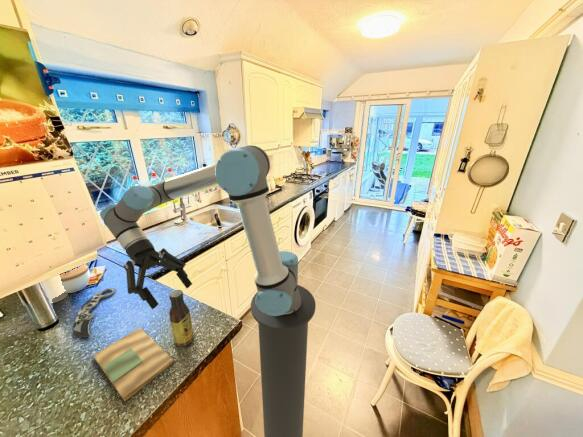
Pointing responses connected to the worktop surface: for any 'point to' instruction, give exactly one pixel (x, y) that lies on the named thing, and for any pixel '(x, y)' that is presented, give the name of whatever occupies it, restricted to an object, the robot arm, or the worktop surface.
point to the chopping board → (132, 362)
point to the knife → (88, 313)
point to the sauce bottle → (180, 319)
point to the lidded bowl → (75, 279)
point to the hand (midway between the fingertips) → (174, 295)
